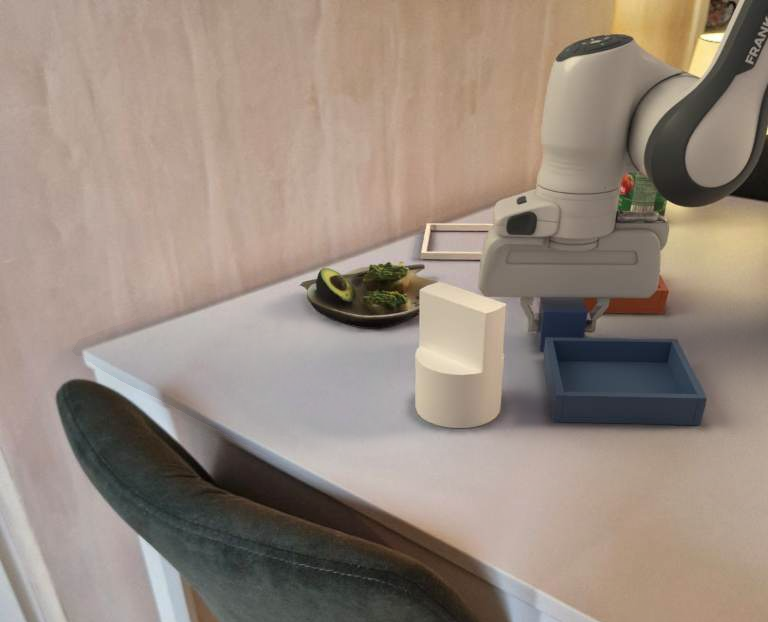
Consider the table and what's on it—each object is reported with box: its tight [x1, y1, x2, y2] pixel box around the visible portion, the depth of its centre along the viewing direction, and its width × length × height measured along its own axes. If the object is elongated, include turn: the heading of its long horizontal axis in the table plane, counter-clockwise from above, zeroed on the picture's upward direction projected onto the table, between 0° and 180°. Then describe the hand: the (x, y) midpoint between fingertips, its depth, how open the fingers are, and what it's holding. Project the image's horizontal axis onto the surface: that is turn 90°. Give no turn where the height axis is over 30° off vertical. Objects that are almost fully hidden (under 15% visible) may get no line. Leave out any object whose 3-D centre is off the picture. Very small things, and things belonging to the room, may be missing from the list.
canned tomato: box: [617, 172, 668, 221], centre depth 126 cm, size 8×8×11 cm
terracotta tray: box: [583, 275, 670, 315], centre depth 103 cm, size 15×14×3 cm
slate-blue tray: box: [542, 337, 708, 426], centre depth 81 cm, size 15×14×3 cm
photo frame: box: [420, 222, 494, 261], centre depth 121 cm, size 15×1×18 cm
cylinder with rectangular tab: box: [414, 281, 507, 429], centre depth 77 cm, size 9×9×12 cm
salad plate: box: [299, 261, 439, 329], centre depth 104 cm, size 19×18×5 cm
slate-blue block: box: [535, 297, 589, 352], centre depth 91 cm, size 5×5×5 cm
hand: (560, 330), depth 91 cm, fingers closed on slate-blue block, 5 cm apart
